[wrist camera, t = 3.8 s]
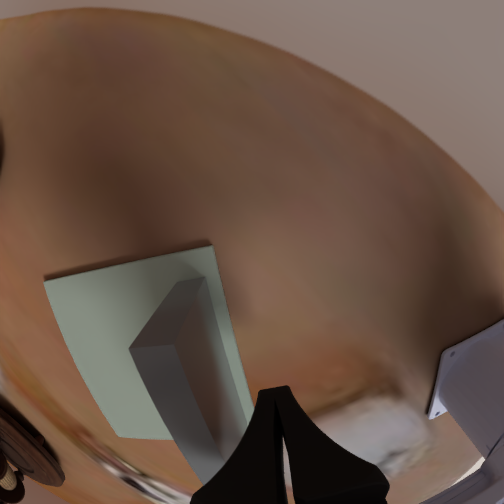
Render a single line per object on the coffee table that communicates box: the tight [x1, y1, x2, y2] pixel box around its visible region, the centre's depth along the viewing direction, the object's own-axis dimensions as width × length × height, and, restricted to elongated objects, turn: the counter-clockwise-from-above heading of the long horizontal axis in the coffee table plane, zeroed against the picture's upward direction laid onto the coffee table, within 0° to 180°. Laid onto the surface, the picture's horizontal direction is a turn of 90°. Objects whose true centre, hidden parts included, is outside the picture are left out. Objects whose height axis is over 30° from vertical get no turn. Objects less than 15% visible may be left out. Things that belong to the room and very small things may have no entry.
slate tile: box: [128, 276, 247, 485], centre depth 12 cm, size 2×11×7 cm, turn 11°
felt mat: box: [43, 245, 254, 440], centre depth 16 cm, size 12×14×1 cm
